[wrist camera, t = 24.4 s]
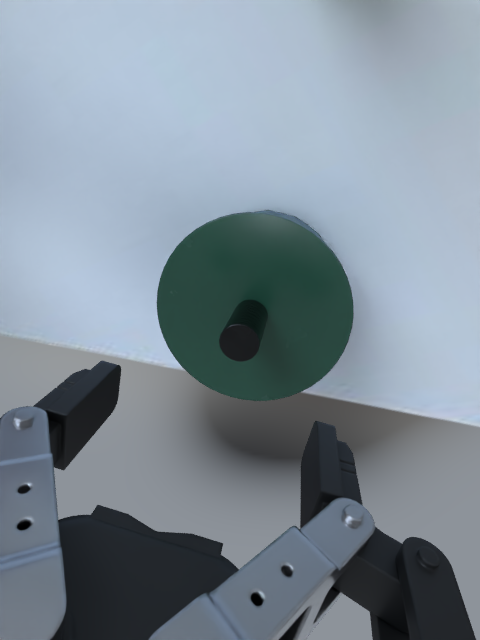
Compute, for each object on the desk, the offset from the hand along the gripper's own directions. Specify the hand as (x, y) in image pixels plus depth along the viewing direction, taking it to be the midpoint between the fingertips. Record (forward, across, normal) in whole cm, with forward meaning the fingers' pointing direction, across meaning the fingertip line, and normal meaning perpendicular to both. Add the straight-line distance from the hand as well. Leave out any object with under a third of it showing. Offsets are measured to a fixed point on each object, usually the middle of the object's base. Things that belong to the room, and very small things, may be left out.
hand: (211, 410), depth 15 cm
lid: (+12, 0, 0) cm, 12 cm away
